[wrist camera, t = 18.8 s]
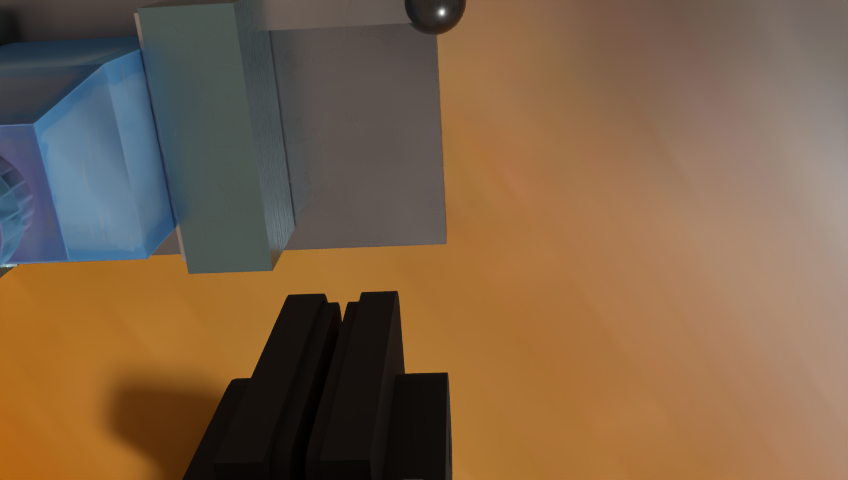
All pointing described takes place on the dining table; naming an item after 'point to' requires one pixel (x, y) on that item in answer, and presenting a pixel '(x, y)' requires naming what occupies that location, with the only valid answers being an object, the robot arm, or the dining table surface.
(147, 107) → the perfume bottle
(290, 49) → the vise bed
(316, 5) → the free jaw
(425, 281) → the dining table surface
